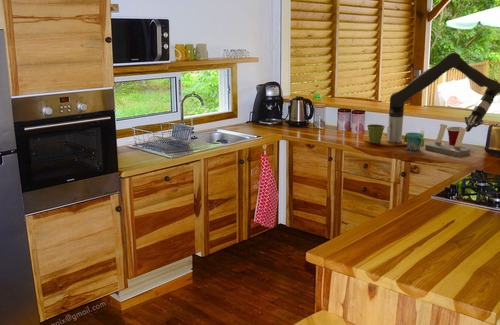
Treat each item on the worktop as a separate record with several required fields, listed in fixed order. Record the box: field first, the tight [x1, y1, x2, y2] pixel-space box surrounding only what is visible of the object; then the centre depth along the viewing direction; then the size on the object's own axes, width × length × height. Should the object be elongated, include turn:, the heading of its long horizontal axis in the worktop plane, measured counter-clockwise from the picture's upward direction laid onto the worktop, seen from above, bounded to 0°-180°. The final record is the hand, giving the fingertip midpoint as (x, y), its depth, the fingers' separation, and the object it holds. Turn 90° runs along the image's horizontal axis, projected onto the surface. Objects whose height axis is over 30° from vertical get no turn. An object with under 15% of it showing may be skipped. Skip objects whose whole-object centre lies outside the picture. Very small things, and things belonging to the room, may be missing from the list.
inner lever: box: [434, 123, 448, 145], centre depth 349 cm, size 2×4×13 cm, turn 35°
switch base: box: [424, 142, 471, 158], centre depth 344 cm, size 12×24×3 cm, turn 34°
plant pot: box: [366, 123, 386, 144], centre depth 370 cm, size 12×12×11 cm
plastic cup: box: [446, 126, 464, 146], centre depth 358 cm, size 11×11×12 cm
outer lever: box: [454, 127, 467, 149], centre depth 338 cm, size 2×4×13 cm, turn 35°
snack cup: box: [403, 132, 425, 152], centre depth 349 cm, size 16×10×10 cm
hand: (466, 130), depth 340 cm, fingers closed
